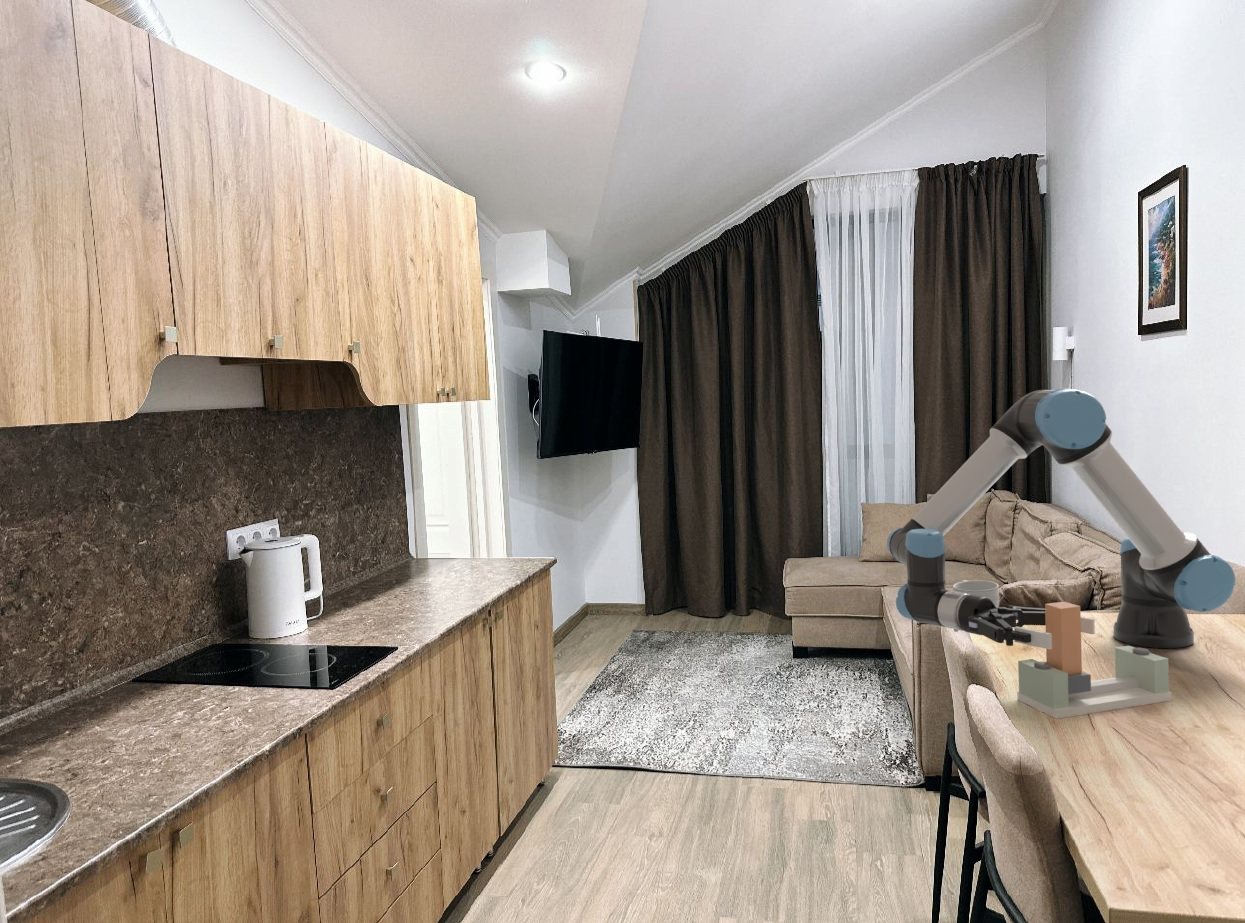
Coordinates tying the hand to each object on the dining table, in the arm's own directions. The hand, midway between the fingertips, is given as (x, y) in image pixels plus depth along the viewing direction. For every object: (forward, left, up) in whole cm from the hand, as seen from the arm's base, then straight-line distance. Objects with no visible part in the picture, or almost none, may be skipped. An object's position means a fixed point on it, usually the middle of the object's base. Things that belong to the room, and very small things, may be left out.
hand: (1072, 634), depth 151 cm
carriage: (0, -2, -10) cm, 10 cm away
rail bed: (-6, -2, -13) cm, 15 cm away
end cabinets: (-6, -2, -12) cm, 13 cm away
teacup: (-24, -63, -14) cm, 69 cm away
